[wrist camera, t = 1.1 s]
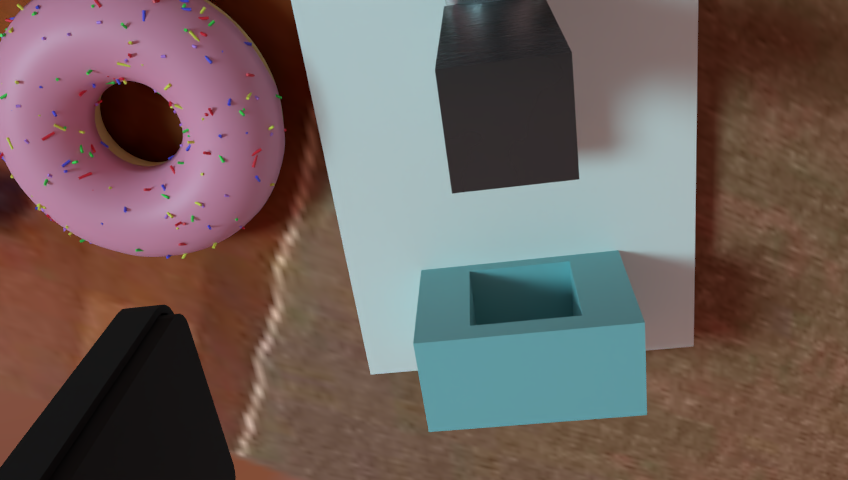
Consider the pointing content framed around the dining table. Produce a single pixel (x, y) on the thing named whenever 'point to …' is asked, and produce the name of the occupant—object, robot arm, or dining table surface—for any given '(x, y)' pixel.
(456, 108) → the silver bolt with handle
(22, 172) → the doughnut
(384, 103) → the base board
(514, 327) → the socket
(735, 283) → the dining table surface
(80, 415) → the robot arm
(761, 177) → the dining table surface
